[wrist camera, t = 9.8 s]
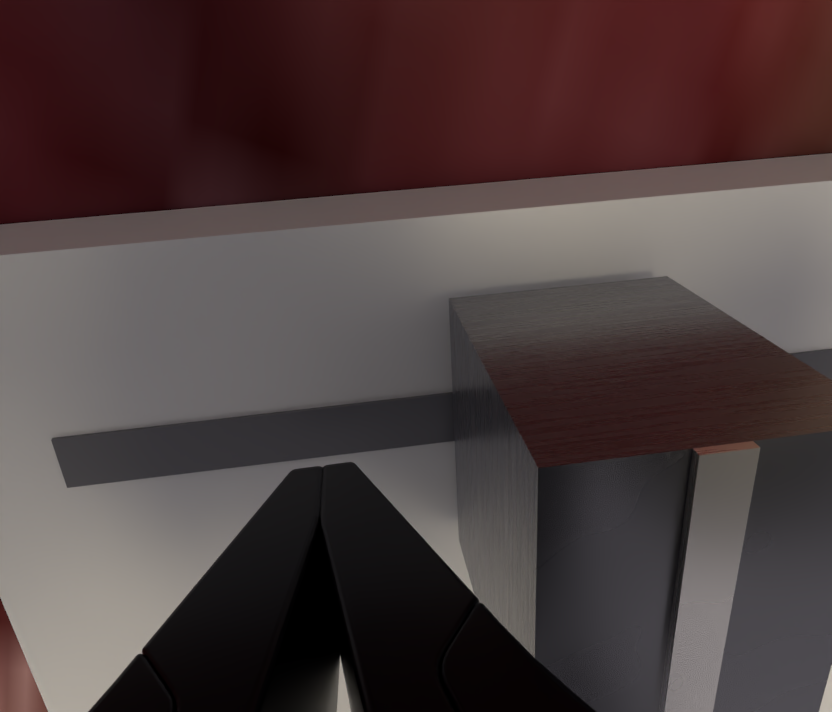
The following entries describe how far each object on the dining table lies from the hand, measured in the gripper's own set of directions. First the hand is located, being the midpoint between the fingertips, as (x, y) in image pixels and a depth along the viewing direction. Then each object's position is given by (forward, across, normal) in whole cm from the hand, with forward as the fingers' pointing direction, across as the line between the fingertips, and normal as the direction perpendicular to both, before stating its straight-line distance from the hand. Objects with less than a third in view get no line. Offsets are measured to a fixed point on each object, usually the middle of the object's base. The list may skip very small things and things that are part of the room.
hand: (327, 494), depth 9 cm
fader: (+1, -3, 0) cm, 3 cm away
